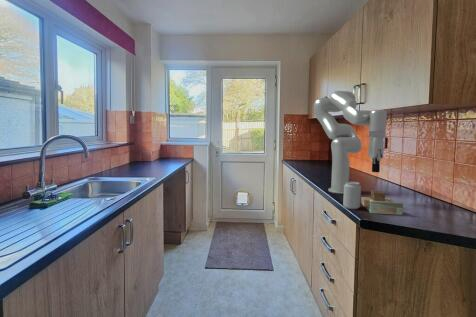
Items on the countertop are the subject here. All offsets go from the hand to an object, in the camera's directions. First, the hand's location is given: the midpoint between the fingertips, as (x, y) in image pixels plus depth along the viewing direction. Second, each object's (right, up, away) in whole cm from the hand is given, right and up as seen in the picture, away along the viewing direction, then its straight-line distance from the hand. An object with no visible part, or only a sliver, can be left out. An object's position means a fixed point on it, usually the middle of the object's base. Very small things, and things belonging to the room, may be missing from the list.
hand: (375, 171), depth 152 cm
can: (-16, -17, -9) cm, 25 cm away
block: (-2, -13, -6) cm, 14 cm away
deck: (-3, -17, -11) cm, 20 cm away
